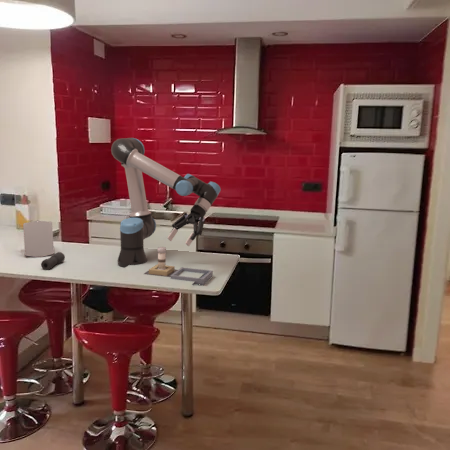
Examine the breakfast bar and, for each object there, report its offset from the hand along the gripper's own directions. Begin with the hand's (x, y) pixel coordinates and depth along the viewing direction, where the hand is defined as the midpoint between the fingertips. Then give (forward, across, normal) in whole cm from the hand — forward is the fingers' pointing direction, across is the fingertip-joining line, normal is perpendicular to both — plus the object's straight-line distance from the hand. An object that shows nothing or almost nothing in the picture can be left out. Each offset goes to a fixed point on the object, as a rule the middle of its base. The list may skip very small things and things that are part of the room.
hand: (177, 242), depth 231 cm
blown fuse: (+16, +1, -3) cm, 17 cm away
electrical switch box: (+36, +76, +15) cm, 85 cm away
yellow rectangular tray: (+17, +1, -4) cm, 18 cm away
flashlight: (+40, +50, +18) cm, 66 cm away
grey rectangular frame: (+13, -14, -8) cm, 21 cm away
